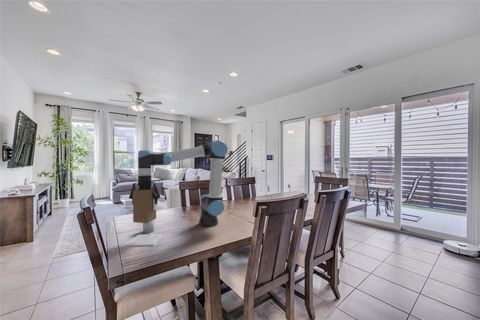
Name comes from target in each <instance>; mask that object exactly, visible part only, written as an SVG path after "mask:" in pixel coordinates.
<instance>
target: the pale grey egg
mask: <svg viewBox="0 0 480 320" xmlns="http://www.w3.org/2000/svg"><path fill="white" fill-rule="evenodd" d="M154 223H155V219H154V220H152V221H150V222H148V223H142V233H143V234H150V233H151V234H152V233H153V232H154V231H155V226H154V225H155V224H154Z"/></svg>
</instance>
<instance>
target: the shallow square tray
mask: <svg viewBox="0 0 480 320" xmlns="http://www.w3.org/2000/svg"><path fill="white" fill-rule="evenodd" d="M162 236H163V233H157V234H155V233H151V234H150V233H146V234H137V235H136V236H135V237H134V238H132V239H131V240H129V242H127V244H126V245H125V247H149V246H153V247H154V246H155V245H156V244H157V243H158V242H159V240H160V239H161V238H162Z"/></svg>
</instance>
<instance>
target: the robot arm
mask: <svg viewBox="0 0 480 320" xmlns="http://www.w3.org/2000/svg"><path fill="white" fill-rule="evenodd" d="M228 150H229V148H228V145H227V144H226V142H225V141H223V140H219V139H218V140H214V141H213V140H212V141H210V142H207V143H204V144H200V145H199V146H195V147H189V148H183V149H179V150H178V149H177V150H173V151H169V152H162V153H153V152H152V150H146V149H145V150H143V149H142V150H139V151H138V153H137V174H138V176H137V180H138V181H137V182H134V183H132V188H131V190H130V193H129V196H128V199H130V200H132V201H131V203H132V206H133V191H134V190H137V187H138V190H140V189H148V190H150V189H152V187H153V188H154V190H155V193H156V194H155V193H153V192H152V196H153V197H154V200H153V210H155V209H156V210H157V205H158V199H160V198H161V194H160V191H159V189H158V186H157V185H158V183H157V182H152V166H170V165H172V163H175V162H179V161H185V160H189V159H194V158H199V157H203V158H205V157H208V159H209V160H210V168H209V169H210V172H209V186H208V187H209V191H208V194H207V193H206V194H202V195H201V196H200V217H199V220H198V225H199V226H201V227H206V228H207V227H214V226H217V225H218V224H219V219H218V216H220V215H222V214H223V212H224V211H225V203H224V202H223V200H224V199H223V198H224V196H223V195H222V180H223V179H222V178H223V162H224V161H225V160H226V154H227V153H228Z"/></svg>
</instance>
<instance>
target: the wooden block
mask: <svg viewBox="0 0 480 320" xmlns="http://www.w3.org/2000/svg"><path fill="white" fill-rule="evenodd" d="M151 188H152V187H151ZM152 192H153V193H155V190H154V187H153V188H152V189H150V190H148V189H140V190H138V189H137V188H136V189H135V190H134V191H133V205H132V212H133V213H132V222H133V223H140V224H143V223H148V222H150V221H152V220H154V221H155V220H156V219H157V208H156V209H155V210H153V200H154V197H153V196H152ZM155 194H156V193H155Z"/></svg>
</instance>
